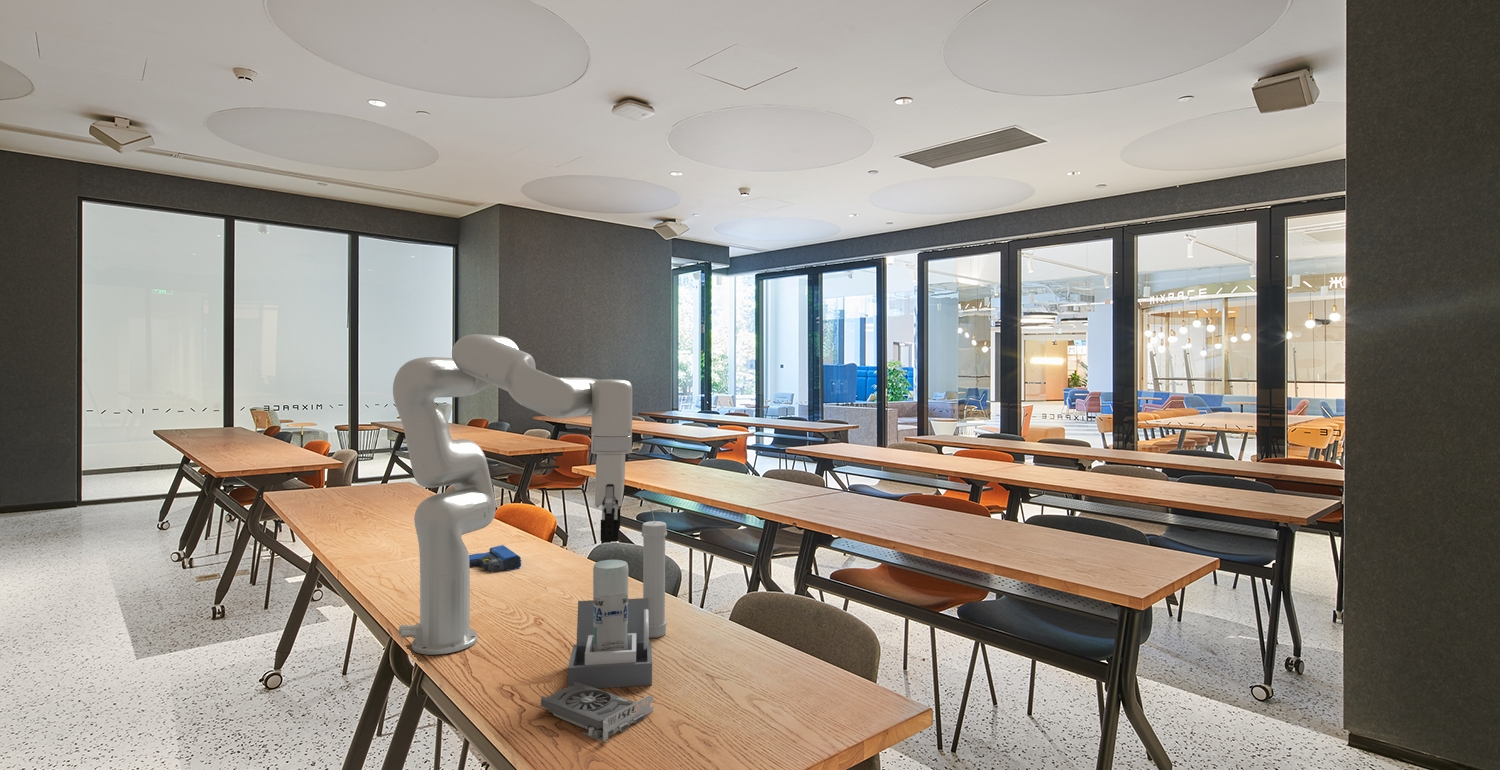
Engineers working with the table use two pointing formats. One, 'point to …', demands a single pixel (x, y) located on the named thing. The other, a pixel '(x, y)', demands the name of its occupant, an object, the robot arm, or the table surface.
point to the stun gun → (496, 559)
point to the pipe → (654, 574)
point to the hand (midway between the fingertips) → (610, 535)
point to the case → (612, 665)
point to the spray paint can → (610, 605)
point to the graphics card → (596, 709)
